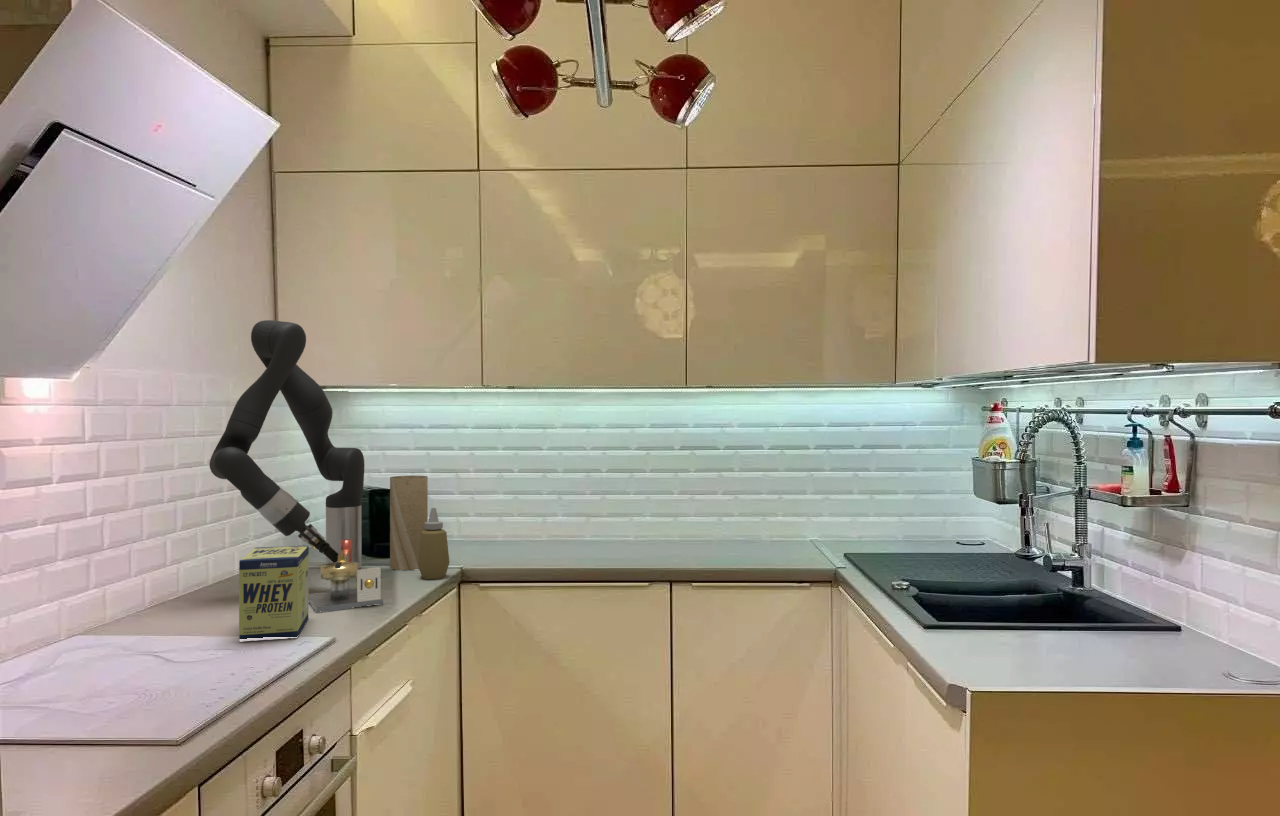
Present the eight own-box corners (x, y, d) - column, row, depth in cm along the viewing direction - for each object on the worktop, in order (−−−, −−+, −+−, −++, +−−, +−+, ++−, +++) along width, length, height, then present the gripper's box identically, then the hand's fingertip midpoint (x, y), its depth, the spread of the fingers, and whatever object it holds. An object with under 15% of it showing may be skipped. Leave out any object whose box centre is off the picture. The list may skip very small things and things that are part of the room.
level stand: (306, 599, 183) (306, 563, 183) (369, 592, 190) (369, 558, 190) (317, 614, 170) (317, 575, 170) (384, 605, 177) (384, 568, 177)
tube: (408, 572, 214) (408, 479, 214) (382, 568, 219) (382, 477, 219) (435, 565, 222) (435, 476, 222) (409, 562, 227) (409, 475, 227)
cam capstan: (329, 566, 193) (329, 540, 193) (364, 565, 195) (364, 538, 195) (318, 583, 175) (318, 553, 175) (356, 581, 177) (356, 551, 177)
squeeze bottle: (423, 582, 201) (423, 511, 201) (413, 576, 208) (413, 507, 208) (454, 578, 206) (454, 508, 206) (443, 572, 212) (443, 505, 212)
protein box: (238, 643, 149) (238, 560, 149) (254, 622, 164) (254, 546, 164) (298, 639, 151) (298, 557, 151) (309, 618, 166) (309, 544, 166)
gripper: (299, 502, 182) (354, 552, 188) (292, 497, 194) (344, 544, 200) (273, 527, 180) (330, 576, 186) (268, 520, 191) (321, 567, 197)
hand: (337, 559), depth 193 cm, fingers closed
